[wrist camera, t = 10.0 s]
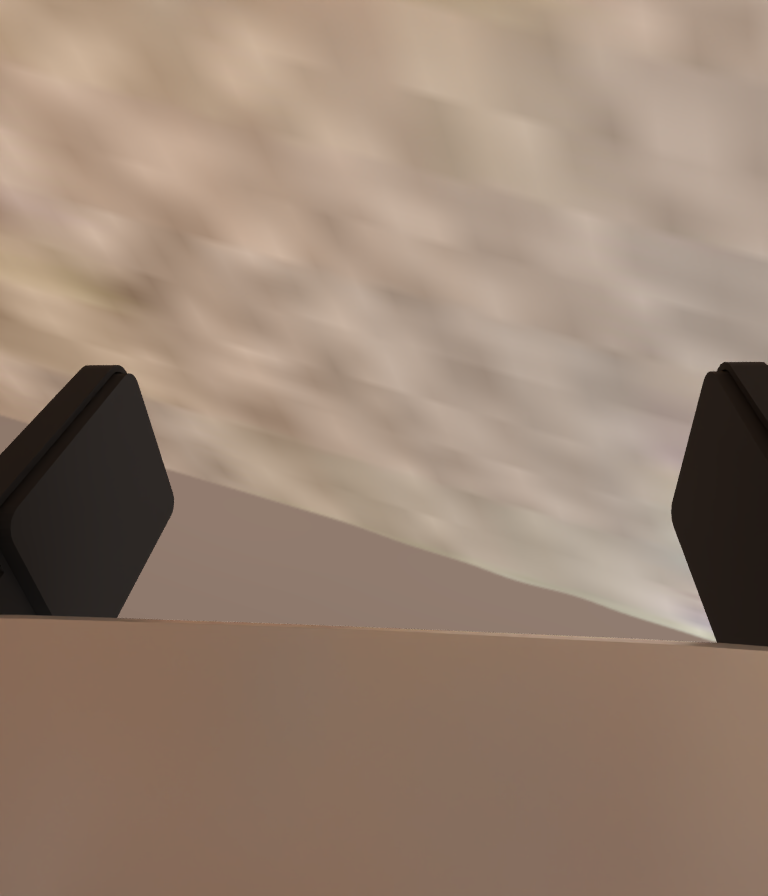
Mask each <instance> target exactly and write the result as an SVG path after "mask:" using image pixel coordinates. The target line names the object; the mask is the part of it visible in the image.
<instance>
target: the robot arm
mask: <svg viewBox="0 0 768 896" xmlns="http://www.w3.org/2000/svg"><path fill="white" fill-rule="evenodd" d="M173 507H174V496H173V492H172V489H171V486H170V482H169V479H168V476H167V473H166V470H165V467H164V464H163V460H162V457H161V454H160V451H159V448H158V445H157V442H156V438H155V435H154V432H153V429H152V426H151V423H150V420H149V417H148V413H147V410H146V407H145V404H144V401H143V398H142V395H141V391H140V388H139V385H138V382H137V380H136V378H135V377H134V375H132V374H127V372H126V371H125V370H124V368H123V367H121V366H119V365H89V366H84V367H83V368H81V370H80V371H79V372H78V373H77V374H76V375H75V376H74V377H73V378H72V379H71V380H70V381H69V382H68V383H67V384H66V385H65V387H64V388H63V389H62V390H61V391H60V392H59V393H58V394H57V395H56V396H55V397H54V398H53V399H52V400H51V401H50V402H49V404H48V405H47V406H46V407H45V408H44V409H43V410H42V411H41V412H40V413H39V414H38V415H37V416H36V417H35V418H34V419H33V421H32V422H31V423H30V424H29V425H28V426H27V427H26V428H25V429H24V430H23V431H22V432H21V433H20V435H18V437H17V438H16V439H15V440H14V441H13V442H12V443H11V444H10V445H9V446H8V447H7V448H6V449H5V450H4V451H3V452H2V453H1V455H0V896H768V365H767V364H766V363H764V362H724V363H722V364H721V365H720V366H719V368H718V370H717V372H708V373H707V375H706V376H705V379H704V382H703V385H702V389H701V393H700V397H699V401H698V405H697V409H696V412H695V416H694V420H693V424H692V428H691V432H690V436H689V440H688V443H687V447H686V451H685V455H684V459H683V463H682V467H681V470H680V474H679V478H678V482H677V486H676V490H675V494H674V498H673V502H672V509H671V514H672V522H673V526H674V529H675V531H676V534H677V537H678V539H679V542H680V545H681V547H682V550H683V553H684V555H685V558H686V561H687V564H688V566H689V569H690V572H691V574H692V577H693V580H694V582H695V585H696V588H697V590H698V593H699V596H700V598H701V601H702V604H703V606H704V609H705V612H706V614H707V617H708V620H709V622H710V625H711V628H712V630H713V633H714V636H715V638H716V641H717V643H710V642H687V641H686V642H685V641H668V640H667V641H666V640H648V639H628V638H607V637H583V636H561V635H540V634H518V633H496V632H495V633H494V632H473V631H450V630H427V629H426V630H425V629H424V630H423V629H401V628H378V627H353V626H326V625H302V624H275V623H250V622H249V623H248V622H221V621H189V620H161V619H133V618H132V619H131V618H117V617H118V615H119V613H120V611H121V609H122V607H123V605H124V603H125V602H126V599H127V598H128V596H129V594H130V592H131V590H132V588H133V586H134V584H135V582H136V581H137V579H138V577H139V575H140V573H141V571H142V569H143V567H144V566H145V564H146V562H147V560H148V558H149V556H150V554H151V552H152V550H153V548H154V547H155V545H156V543H157V541H158V539H159V537H160V535H161V533H162V532H163V530H164V528H165V526H166V524H167V522H168V520H169V518H170V516H171V514H172V512H173Z"/></svg>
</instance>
